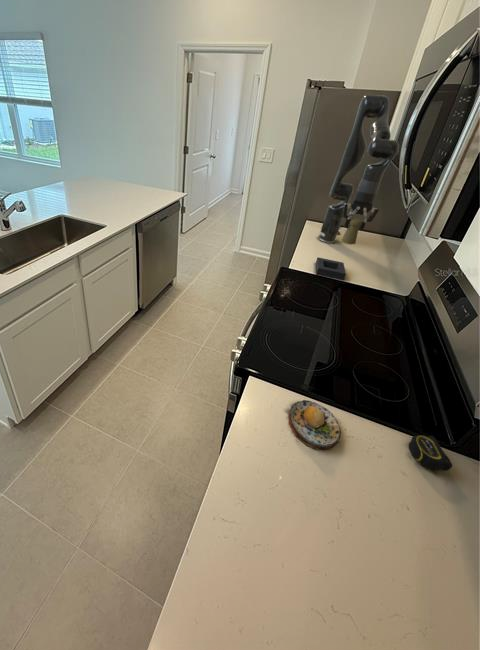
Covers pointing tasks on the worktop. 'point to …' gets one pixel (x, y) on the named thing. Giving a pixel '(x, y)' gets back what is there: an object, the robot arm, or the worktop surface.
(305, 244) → the worktop surface
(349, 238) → the olive flared shaker
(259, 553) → the worktop surface
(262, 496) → the worktop surface
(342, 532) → the worktop surface
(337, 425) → the speckled dish
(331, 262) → the base pad
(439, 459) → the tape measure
